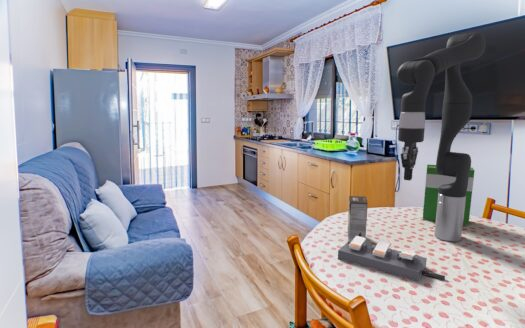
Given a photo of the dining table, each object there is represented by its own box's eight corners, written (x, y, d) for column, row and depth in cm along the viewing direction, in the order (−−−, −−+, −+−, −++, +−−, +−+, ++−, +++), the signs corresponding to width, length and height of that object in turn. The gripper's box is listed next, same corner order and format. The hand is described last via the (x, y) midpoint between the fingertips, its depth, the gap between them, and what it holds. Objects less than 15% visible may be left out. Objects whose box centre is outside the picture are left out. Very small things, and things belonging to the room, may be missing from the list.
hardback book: (422, 219, 150) (427, 167, 146) (422, 214, 157) (427, 164, 153) (468, 225, 143) (474, 170, 138) (466, 220, 149) (472, 167, 145)
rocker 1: (356, 238, 116) (356, 235, 116) (366, 240, 114) (366, 237, 114) (348, 247, 111) (348, 244, 111) (359, 250, 109) (359, 247, 109)
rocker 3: (404, 254, 107) (404, 250, 107) (416, 257, 105) (416, 253, 105) (398, 256, 101) (399, 253, 101) (411, 259, 99) (412, 256, 99)
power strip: (350, 247, 120) (350, 234, 119) (447, 272, 102) (448, 257, 102) (337, 258, 112) (338, 244, 111) (441, 288, 94) (443, 271, 93)
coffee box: (347, 234, 133) (348, 195, 130) (363, 235, 132) (365, 196, 129) (348, 243, 124) (350, 201, 121) (366, 244, 123) (368, 202, 120)
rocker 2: (379, 242, 112) (379, 240, 111) (390, 245, 110) (390, 242, 109) (372, 254, 107) (372, 251, 106) (384, 257, 104) (384, 254, 104)
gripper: (419, 128, 98) (415, 185, 101) (428, 125, 109) (424, 177, 112) (393, 127, 103) (390, 182, 106) (404, 125, 113) (401, 174, 116)
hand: (407, 179), depth 109 cm, fingers closed
